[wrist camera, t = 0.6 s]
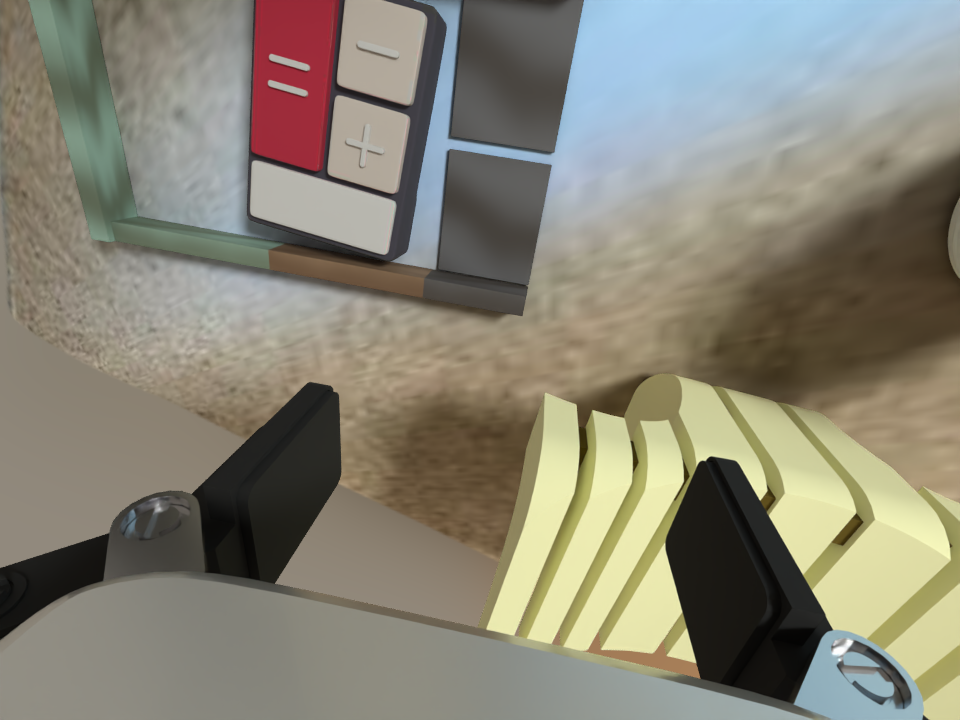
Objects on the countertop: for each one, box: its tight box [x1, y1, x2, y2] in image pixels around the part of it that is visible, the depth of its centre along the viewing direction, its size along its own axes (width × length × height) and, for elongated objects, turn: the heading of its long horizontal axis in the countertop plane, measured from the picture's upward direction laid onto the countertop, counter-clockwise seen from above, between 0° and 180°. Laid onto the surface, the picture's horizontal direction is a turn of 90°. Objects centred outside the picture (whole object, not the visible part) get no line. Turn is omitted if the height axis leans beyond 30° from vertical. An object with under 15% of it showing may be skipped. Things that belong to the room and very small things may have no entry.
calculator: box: [247, 0, 447, 261], centre depth 29 cm, size 11×4×15 cm
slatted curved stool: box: [477, 373, 960, 720], centre depth 30 cm, size 30×16×18 cm, turn 78°
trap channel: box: [28, 0, 584, 316], centre depth 30 cm, size 21×34×3 cm, turn 82°
